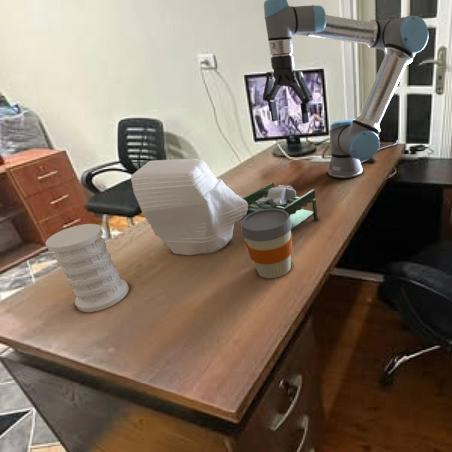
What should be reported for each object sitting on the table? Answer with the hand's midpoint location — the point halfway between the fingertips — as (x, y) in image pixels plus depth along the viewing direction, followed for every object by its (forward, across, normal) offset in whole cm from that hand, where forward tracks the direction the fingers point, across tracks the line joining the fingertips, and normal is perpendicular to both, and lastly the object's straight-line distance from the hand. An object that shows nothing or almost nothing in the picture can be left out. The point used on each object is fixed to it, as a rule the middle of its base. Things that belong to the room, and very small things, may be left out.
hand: (290, 121), depth 124 cm
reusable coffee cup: (+29, +23, -43) cm, 57 cm away
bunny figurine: (+21, +9, -22) cm, 32 cm away
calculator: (+29, -9, -19) cm, 36 cm away
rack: (+29, +9, -22) cm, 37 cm away
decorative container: (+29, -9, -72) cm, 78 cm away
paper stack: (+29, -5, -44) cm, 53 cm away
